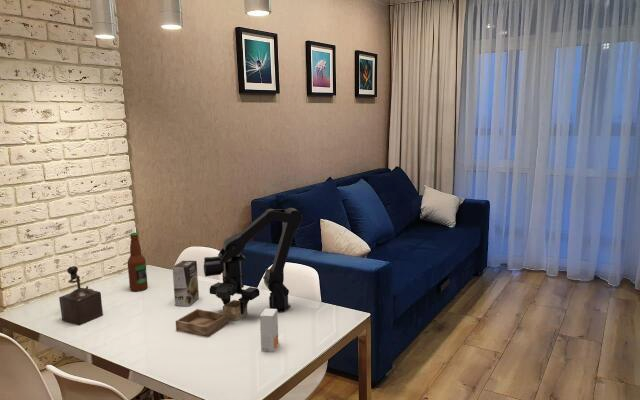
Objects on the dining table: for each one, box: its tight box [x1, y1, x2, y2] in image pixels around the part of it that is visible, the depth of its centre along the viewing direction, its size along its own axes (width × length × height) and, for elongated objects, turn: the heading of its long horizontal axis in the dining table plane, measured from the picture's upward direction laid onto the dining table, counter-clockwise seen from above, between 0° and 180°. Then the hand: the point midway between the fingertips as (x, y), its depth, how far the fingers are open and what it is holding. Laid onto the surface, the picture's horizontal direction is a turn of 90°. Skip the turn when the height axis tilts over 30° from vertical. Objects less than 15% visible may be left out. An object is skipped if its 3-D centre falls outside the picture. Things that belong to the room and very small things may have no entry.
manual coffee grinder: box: [58, 265, 104, 326], centre depth 181 cm, size 16×11×18 cm
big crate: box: [175, 308, 229, 338], centre depth 170 cm, size 14×12×4 cm
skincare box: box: [259, 307, 279, 353], centre depth 153 cm, size 6×4×12 cm
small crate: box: [222, 299, 248, 321], centre depth 180 cm, size 6×7×4 cm
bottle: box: [127, 232, 149, 293], centre depth 208 cm, size 7×7×25 cm
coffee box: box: [172, 260, 200, 307], centre depth 193 cm, size 9×6×16 cm
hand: (235, 312), depth 180 cm, fingers closed on small crate, 6 cm apart
